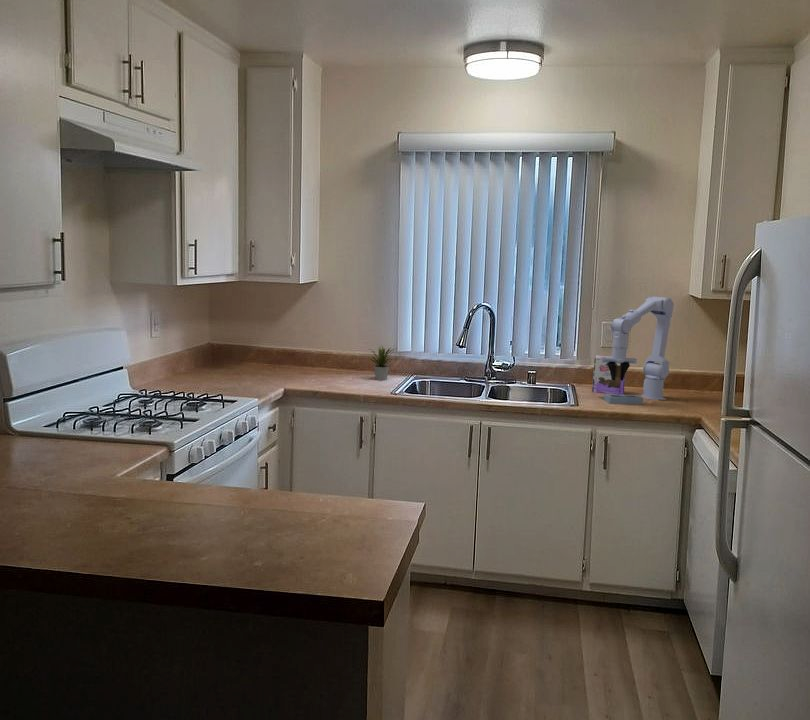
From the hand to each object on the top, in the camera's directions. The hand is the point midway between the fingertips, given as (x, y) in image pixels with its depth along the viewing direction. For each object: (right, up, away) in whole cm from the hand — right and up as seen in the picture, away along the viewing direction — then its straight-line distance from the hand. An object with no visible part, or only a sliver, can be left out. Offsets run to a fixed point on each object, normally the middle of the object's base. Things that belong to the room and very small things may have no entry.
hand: (617, 380), depth 334 cm
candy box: (+2, -7, +24) cm, 25 cm away
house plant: (-98, -1, +39) cm, 105 cm away
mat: (0, -9, +9) cm, 13 cm away
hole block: (+3, -10, +2) cm, 10 cm away
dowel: (0, -3, 0) cm, 3 cm away
